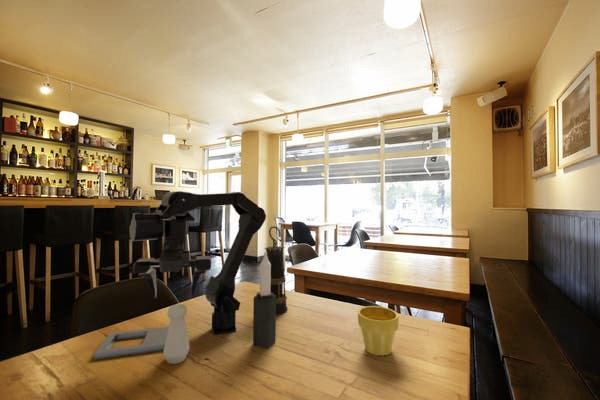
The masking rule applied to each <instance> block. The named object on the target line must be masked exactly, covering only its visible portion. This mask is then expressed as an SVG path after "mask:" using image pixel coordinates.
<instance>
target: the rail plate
mask: <svg viewBox="0 0 600 400" xmlns="http://www.w3.org/2000/svg"><path fill="white" fill-rule="evenodd" d="M168 329H169V325H168V326H161V327H154V328H153V327H152V328H144V329H136V330H135V329H134V330H128V331H127V330H126V331H118V332H117V331H116V332H109V333H108V334H107V336H106V337H105V338H104V340H103V341H102V342H101V343H100V345H99V346H98V348H97V349H96V350H95V351H94V353H93V360H94V361H95V360H96V361H97V360H102V359H108V358H117V357H118V358H119V357H123V356H124V357H125V356H131V355H138V354H140V355H141V354H147V353H153V352H160V351H164V347H165V343H166V338H167V334H168ZM135 338H136V339H137V338H144V339H143V341H142V344H138V345H137V344H135V345H127V346H121V347H114V348H113V347H112V346H113V345H114V343H115V342H116V341H118V340H127V339H135Z"/></svg>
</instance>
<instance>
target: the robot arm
mask: <svg viewBox="0 0 600 400" xmlns="http://www.w3.org/2000/svg"><path fill="white" fill-rule="evenodd" d="M218 206H219V207H222V206H232V207H233V209H234V211H235V212H236V214H237V215H238V216H239V219H238V231H237V233H236V236H235V238H234V240H233V242H232V245H231V247H230V250H229V252H228V254H227V256H226V259H225V261H224V262H223V265H222V267H221V269H220V272H219V273H218V274H217V275H216V276H213V275H211V276H210V278H209V280H208V282H207V285H206V286H205V287H204V289H205V293H204V296H205V299H206V300H207V302H209V303H210V305H211V306H212V307H213V312H211V330H213V334H214V335H216V334H217V335H218V334H225V333H232V332H237V326H236V319H237V318H236V313H237V312H236V311H238V310H240V306H241V302H240V301H239V300H238V299H237V298H236V297H234V295H235V290H236V276H237V274H238V271H239V269H240V267H241V264H242V263H243V260H244V257H245V255H246V253H247V250H248V248H249V246H250V244H251V242H252V239H253V236H254V235H255V234H256V233H257V232H259V230H261V228H262V226H263V225H264V222H265V221H266V220H267V219H266V218H267V214H266V211H265V209H264V208H263V207H260V206H259V205H258V204H256V203H255V202H254V201H252V200H251V199H249V198H248V197H247V196H246V195H245V194H244V193H243V192H241V191H232V192H227V193H226V192H224V193H204V194H201V193H195V192H187V191H180V190H179V191H178V190H177V191H168V192H166V193H165V194H164V195H163V196H162V198H161V202H160V204H159V206H157V207H156V209H155V210H154V212H153V213H141V212H135V213H133V212H132V218H131V221H130V225H129V238H130V240H131V241H132V242H140V241H153V240H159V238H160V237H162V236H163V237H162V238H163V240H162V250H161V253H160V256H159V260H156V259H155V257H145V258H143V257H142V258H139V259H138V260H136V261H135V262H134V263H133V264H132V274H137V275H138V277H142V278H144V279H145V281H146V282H147V285H148V286H149V289H150V291H151V294H152V297H153V299H157V293H158V290H157V289H158V288H157V287H158V286H157V270H156V269H159V272H161V273H167V272H174V273H177V272H180V271H181V270H182V268H194V272H193V278H192V285H191V290H190V291H191V292H190V293H191V294H190V295H191V297H192V296H194V294H195V291H196V288H197V284H198V282H199V279H200V277H201V276H202V274H206V273H207V271H210V270H212V257H211V256H210V255H202V256H201V255H199V256H196V258H195V259H191V252H190V250H187V244H188V243H187V241H188V240H187V239H188V237H187V236H188V235H187V233H188V222H195V220H196V218H195V217H194V216H192V215H191V213H190V212H191V211H194V210H197V209H200V208H204V207H206V208H207V207H218Z"/></svg>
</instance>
